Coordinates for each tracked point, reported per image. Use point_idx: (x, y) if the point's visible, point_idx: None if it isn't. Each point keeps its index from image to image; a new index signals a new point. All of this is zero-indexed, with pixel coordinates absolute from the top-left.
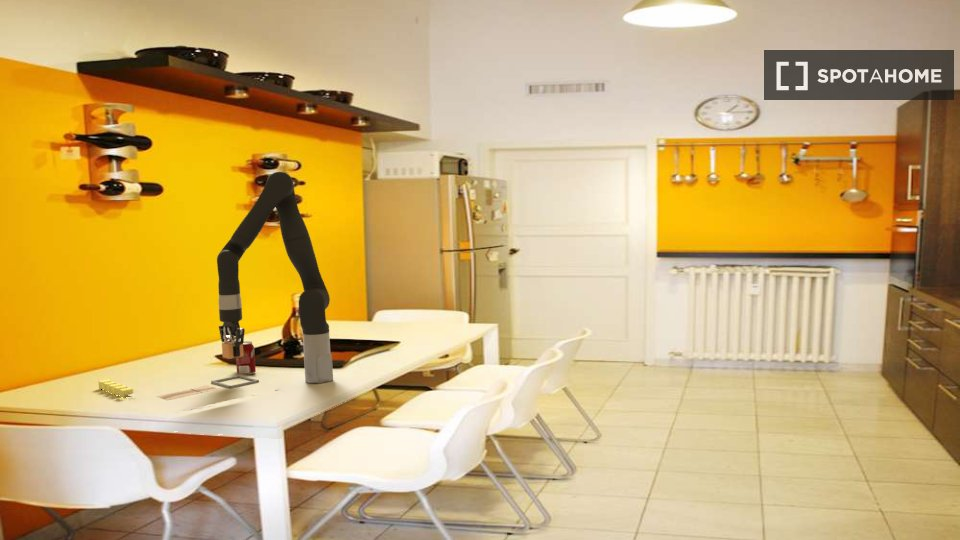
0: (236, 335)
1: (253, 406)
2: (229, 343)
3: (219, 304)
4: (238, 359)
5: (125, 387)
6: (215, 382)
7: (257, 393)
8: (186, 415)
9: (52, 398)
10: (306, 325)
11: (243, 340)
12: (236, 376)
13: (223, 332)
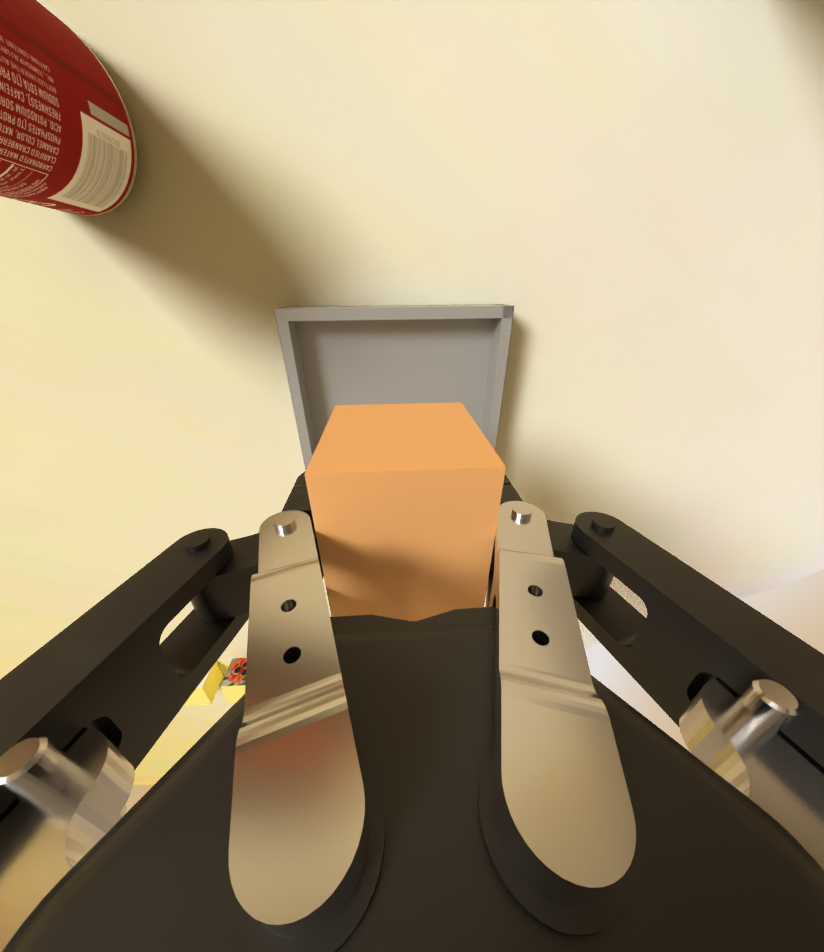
0: (677, 704)
1: (731, 501)
2: (436, 599)
3: None
4: None
5: (204, 688)
6: None
7: (611, 395)
8: (591, 634)
9: None
10: None
11: (659, 548)
12: (292, 340)
13: (144, 721)
